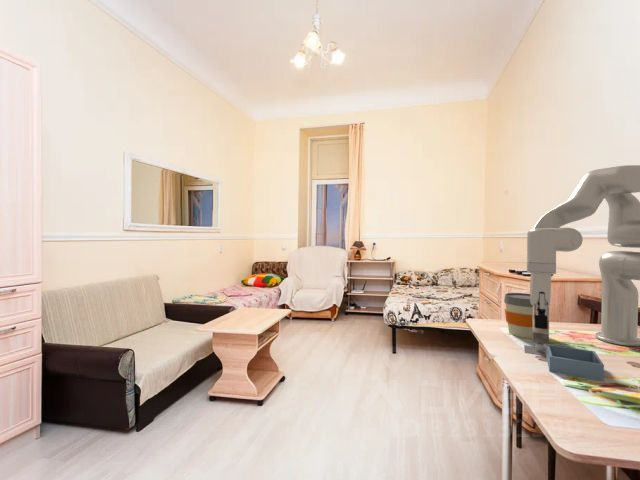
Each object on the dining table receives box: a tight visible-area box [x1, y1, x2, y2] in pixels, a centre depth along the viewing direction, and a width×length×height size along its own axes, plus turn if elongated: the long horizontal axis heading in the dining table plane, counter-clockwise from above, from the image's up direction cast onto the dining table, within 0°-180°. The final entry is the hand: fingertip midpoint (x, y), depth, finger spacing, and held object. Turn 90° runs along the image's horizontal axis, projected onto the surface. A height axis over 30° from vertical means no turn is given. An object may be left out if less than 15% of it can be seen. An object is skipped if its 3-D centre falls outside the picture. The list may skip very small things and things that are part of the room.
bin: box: [545, 344, 605, 382], centre depth 91 cm, size 11×11×5 cm
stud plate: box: [523, 342, 546, 357], centre depth 104 cm, size 8×8×4 cm
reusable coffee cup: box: [503, 292, 533, 339], centre depth 122 cm, size 12×13×15 cm
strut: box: [532, 303, 550, 345], centre depth 104 cm, size 4×4×12 cm
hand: (540, 325), depth 104 cm, fingers closed on strut, 4 cm apart
